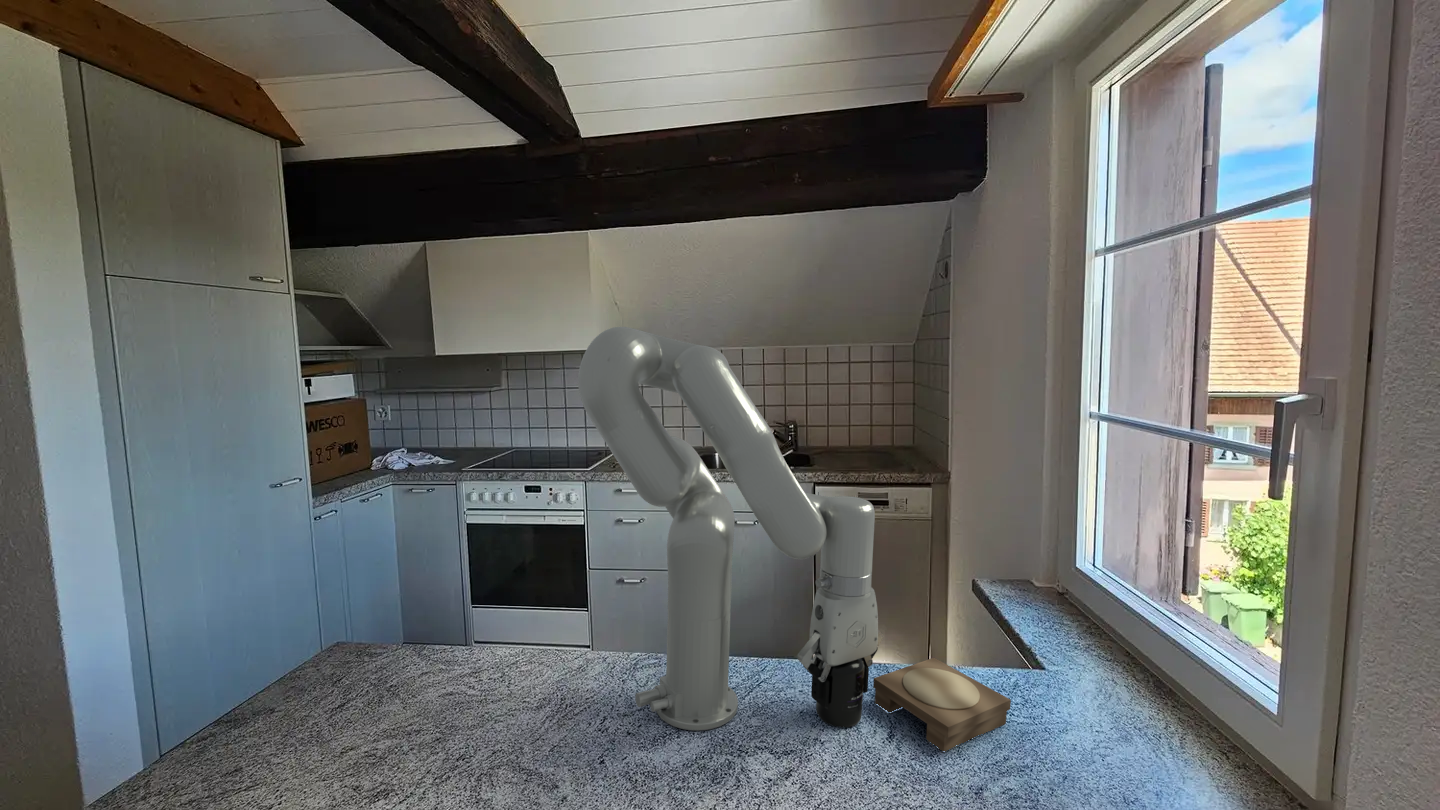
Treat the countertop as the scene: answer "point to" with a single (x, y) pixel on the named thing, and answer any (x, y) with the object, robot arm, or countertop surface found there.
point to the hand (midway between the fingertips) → (839, 694)
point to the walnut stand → (942, 701)
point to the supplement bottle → (844, 694)
